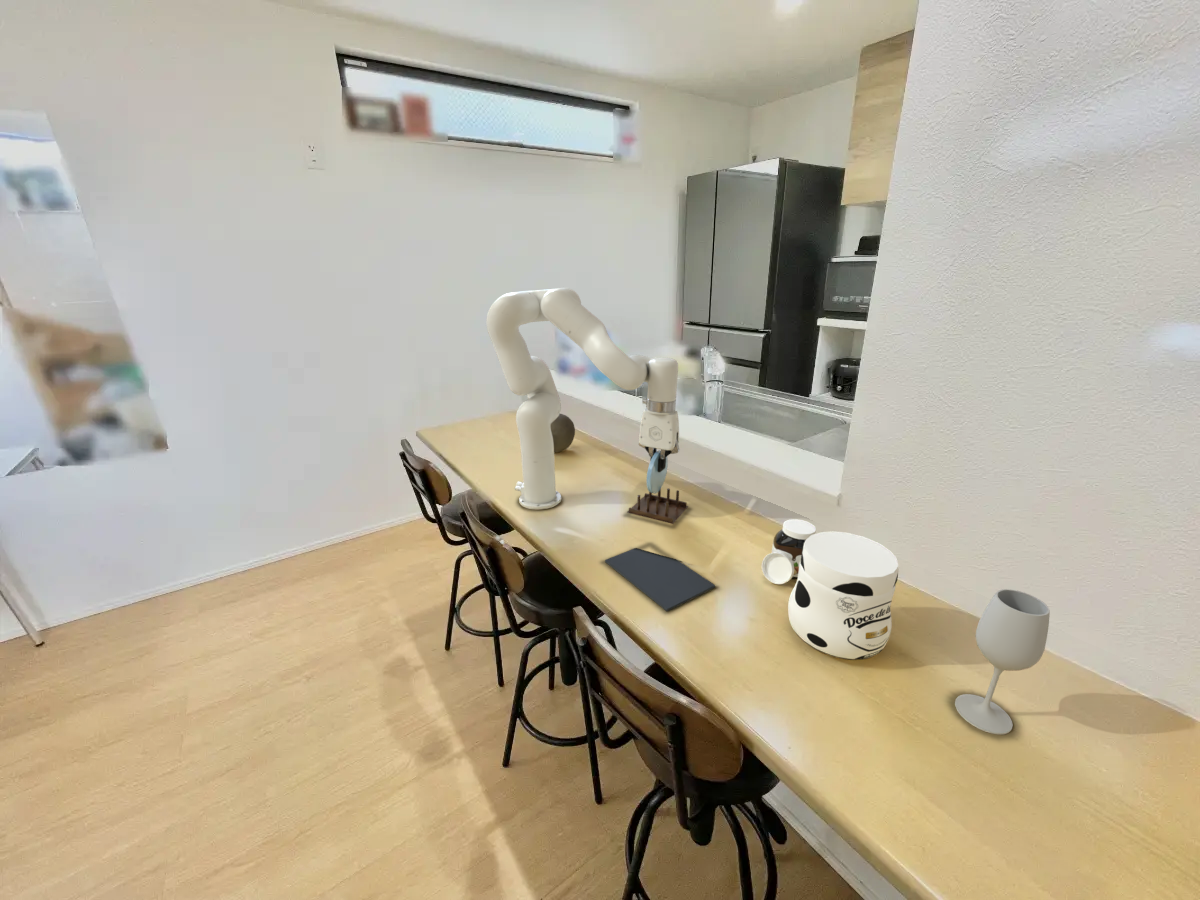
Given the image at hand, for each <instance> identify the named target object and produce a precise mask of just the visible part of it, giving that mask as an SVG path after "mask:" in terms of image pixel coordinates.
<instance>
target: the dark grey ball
mask: <svg viewBox="0 0 1200 900" xmlns="http://www.w3.org/2000/svg"><path fill="white" fill-rule="evenodd" d="M551 433H552V437H553V444H554V453H560V452H562V451H565V450H566V449H568V448H569V447H570V446H571V445H572V443H573V442H574V439H575V435H576V427H575V424H574V422H573V420H572V419H571V418H570V417H569V416H568V415H566V414H563V413H560V414H559V416H558V417H557V418H556V419H555V420H554V421H553V422H552V423H551Z"/></svg>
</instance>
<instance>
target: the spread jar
mask: <svg viewBox="0 0 1200 900" xmlns="http://www.w3.org/2000/svg"><path fill="white" fill-rule="evenodd" d="M782 523H783V524H782V529H780V530H778V531H777V532H776V534H775V535H774V537H773V540H772V546H771V552H770V553H768V554H766V555H765V556H764V557H763V559H762V561H761V571H762V574H763V576H764V577H765V579H766V580H768V581H769V582H770V583H772V584H775V585H783V584H786V583H788V582H789V581H791V580H793V581H794V580H795V581H797V579H798V572H799V564H800V560H801V555H802V549H803V546H804V543H805V540H806V539H807V538H809V537H810V536H811V535H813V534H817V533H816V532H817V528H816V526H815V525H814V524H813V523H812V522H809V521H807V520H803V519H800V518H790V519H787V520H785V521H784V522H782Z"/></svg>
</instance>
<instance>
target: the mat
mask: <svg viewBox="0 0 1200 900" xmlns="http://www.w3.org/2000/svg"><path fill="white" fill-rule="evenodd" d="M604 563H605V564H607V565H608V566H609V567H610V568H612V569H613V570H614V571H616V572H617V573H618V574H619V575H620V576H622V577H623V578H625V579H626V580H627V582H629V583H631V584H632V586H634V587H635V588H637V589H638V590H639V591H641V592H642V593H643V594H644V595H645V596H646V597H648V598H649V599H651V600H652V601H653V602H654V603H655V604H657V605H658V606H659V607H661V608H662V609H663V610H664V611H665V612H669V611H671V610H673V609H675V608H677V607H679V606H681V605H683V604H685V603H687V602H689V601H691V600H693V599H695V598H697V597H699V596H701V595H703V594H705V593H707V592H709V591H711V590H713V589H715V588H716V584H714V583H713V582H711V581H709V580H708V579H707V578H705V577H704V576H702V575H700V574H699V573H697V572H696V571H695V570H693V569H692V568H690V567H689V566H687V565H685V564H684V563H683V562H681V561H680V560H678V559H676V558H674V557H669V556H666V555H663V554H659V553H657V552H652V551H649V550H645V549H641V548H639V547H635V548H632V549H629V550H627V551H624V552H621V553H619V554H617V555H614V556H611V557H608V558H606V559H605V560H604Z"/></svg>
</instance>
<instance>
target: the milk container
mask: <svg viewBox="0 0 1200 900" xmlns="http://www.w3.org/2000/svg"><path fill="white" fill-rule="evenodd" d="M898 577H899V561H898V558H897V556H896V555H895V554H894V553H893V552H892V551H891V549H889V548H887V547H886V546H884V545H883V544H881V543H880V542H877V541H876V540H873V539H871V538H869V537H866V536H863V535H859V534H855V533H852V532H851V533H850V532H844V531H835V530H834V531H832V530H831V531H820V532H817V533H815V534H813V535H811V536H810V537H809V538H807V539H806V540H805V543H804V546H803V549H802V555H801V560H800V564H799V572H798V579H797V580H796V581H795V582H796V583H795V585H794V586H793V588H792V590H791V592H790V594H789V598H788V602H787V610H788V611H787V613H788V621H789V624H790V626H791V628H792V630H793V631H794V633H795V634H796V635H797V636H798V638H799V639H801V641H802V642H804V643H805V644H807V645H808V646H809V647H811V648H813V649H814V650H816V651H818V652H820V653H822V654H825V655H828V656H830V657H833V658H838V659H841V660H842V659H843V660H850V661H857V660H858V661H859V660H867V659H870V658H872V657H874V656H876V655H878V654H880V653H881V652H882V651H883V649H885V646H886V645H887V643H888V641H889V640H890V636H891V633H892V627H893V621H892V612H891V611H892V610H891V607H892V602H893V599H894V596H895V595H894V594H895V591H896V587H897V586H896V584H897V582H898Z"/></svg>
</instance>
